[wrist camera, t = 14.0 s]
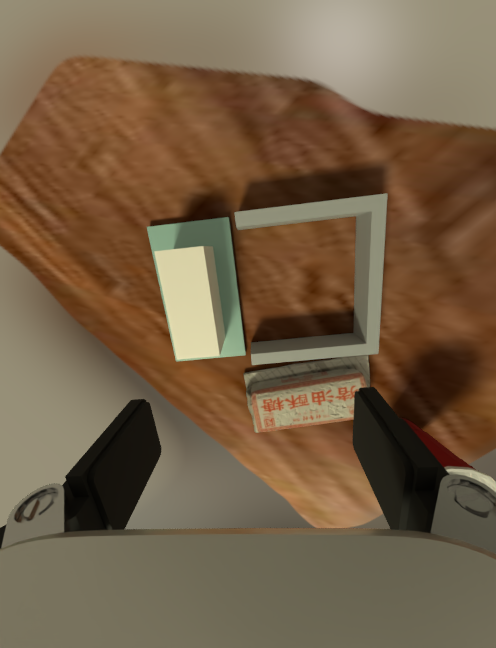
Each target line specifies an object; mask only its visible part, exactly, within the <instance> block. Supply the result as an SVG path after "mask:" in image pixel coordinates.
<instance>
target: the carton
mask: <svg viewBox="0 0 496 648" xmlns="http://www.w3.org/2000/svg"><path fill="white" fill-rule="evenodd" d="M154 253H155V258H156V263H157V267H158V272H159V277H160V282H161V287H162V291H163V296H164V301H165V306H166V310H167V315H168V320H169V325H170V329H171V334H172V339H173V344H174V348H175V353H176V358H177V360H180V359H191V358H203V357H215V356H220V354H221V351H222V347H223V344H224V341H225V338H226V337H225V330H224V322H223V315H222V308H221V301H220V294H219V286H218V279H217V272H216V265H215V258H214V250H213V246H199V247H190V248H181V249H171V250H162V251H154Z"/></svg>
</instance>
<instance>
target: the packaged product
mask: <svg viewBox="0 0 496 648" xmlns="http://www.w3.org/2000/svg"><path fill="white" fill-rule="evenodd" d="M368 356H369V355H359V356H348V357H340V358H335V359H329V360H322V361H314V362H307V363H298V364H292V365H286V366H282V367H277V368H270V369H263V370H257V371H252V372H247V373H244V378H245V383H246V389H247V391H246V396H247V398H248V407H249V411H250V413H251V415H252V419H253V424H254V431H255V432H256V433H259V432H266V431H274V430H276V431H277V430H281V429H290V428H295V427H304V426H310V425H319V424H325V423H331V422H340V421H346V420H351V419H354V395H355V392H356V391H359V388H364V387H370V372H369V361H368Z"/></svg>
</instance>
